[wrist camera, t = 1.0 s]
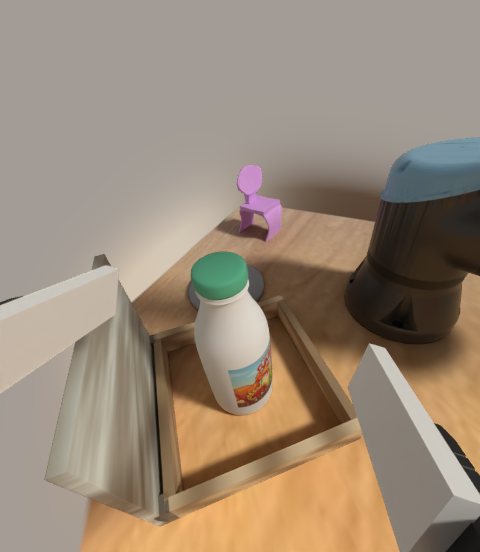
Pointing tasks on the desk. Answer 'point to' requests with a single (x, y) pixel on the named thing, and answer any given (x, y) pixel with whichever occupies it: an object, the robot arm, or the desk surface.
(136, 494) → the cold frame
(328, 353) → the desk surface
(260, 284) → the pad
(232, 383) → the milk bottle
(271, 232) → the toy chair
